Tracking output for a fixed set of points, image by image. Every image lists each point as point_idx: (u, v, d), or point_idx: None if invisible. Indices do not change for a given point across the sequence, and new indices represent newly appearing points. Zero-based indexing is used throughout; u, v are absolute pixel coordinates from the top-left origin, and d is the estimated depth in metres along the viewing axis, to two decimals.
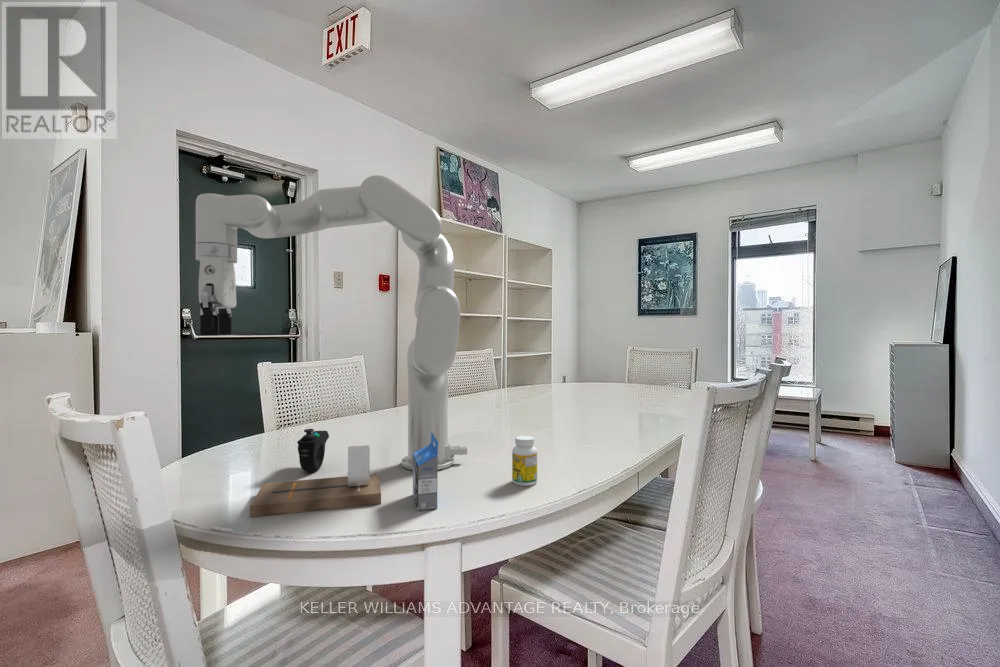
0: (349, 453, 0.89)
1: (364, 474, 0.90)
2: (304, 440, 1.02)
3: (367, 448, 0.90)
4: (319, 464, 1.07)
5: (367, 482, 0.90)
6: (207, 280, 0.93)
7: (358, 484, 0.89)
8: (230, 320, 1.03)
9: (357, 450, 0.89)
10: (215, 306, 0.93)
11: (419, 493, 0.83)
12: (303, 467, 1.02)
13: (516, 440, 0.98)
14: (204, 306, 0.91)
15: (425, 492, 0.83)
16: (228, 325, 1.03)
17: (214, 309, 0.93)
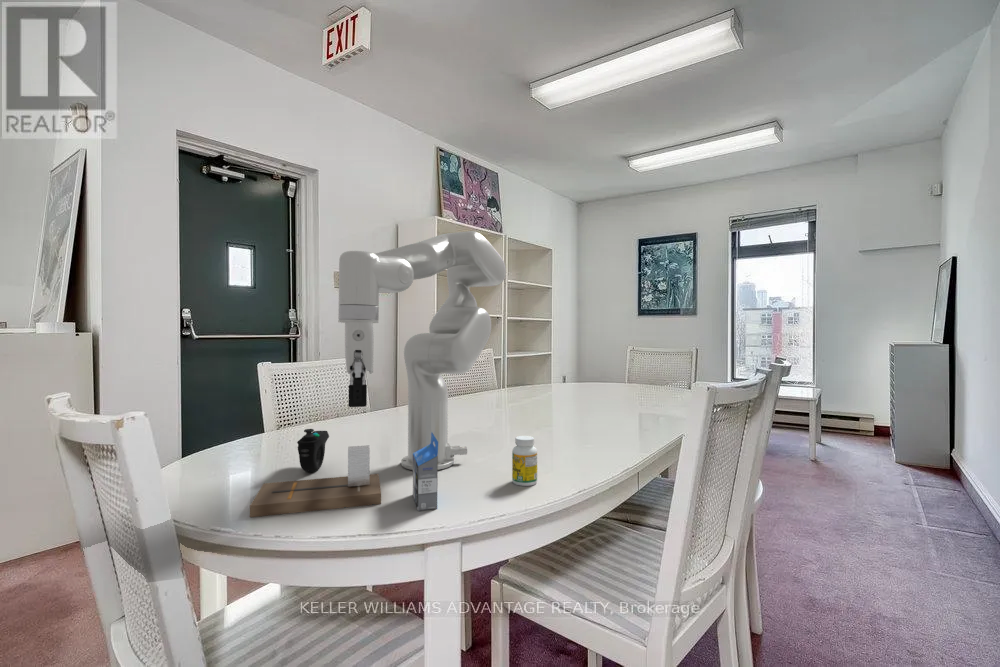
0: (349, 453, 0.89)
1: (364, 474, 0.90)
2: (304, 440, 1.02)
3: (367, 448, 0.90)
4: (319, 464, 1.07)
5: (367, 482, 0.90)
6: (355, 347, 0.85)
7: (358, 484, 0.89)
8: (365, 384, 0.95)
9: (357, 450, 0.89)
10: (364, 375, 0.85)
11: (419, 493, 0.83)
12: (303, 467, 1.02)
13: (516, 440, 0.98)
14: (356, 377, 0.83)
15: (425, 492, 0.83)
16: None
17: (364, 378, 0.85)
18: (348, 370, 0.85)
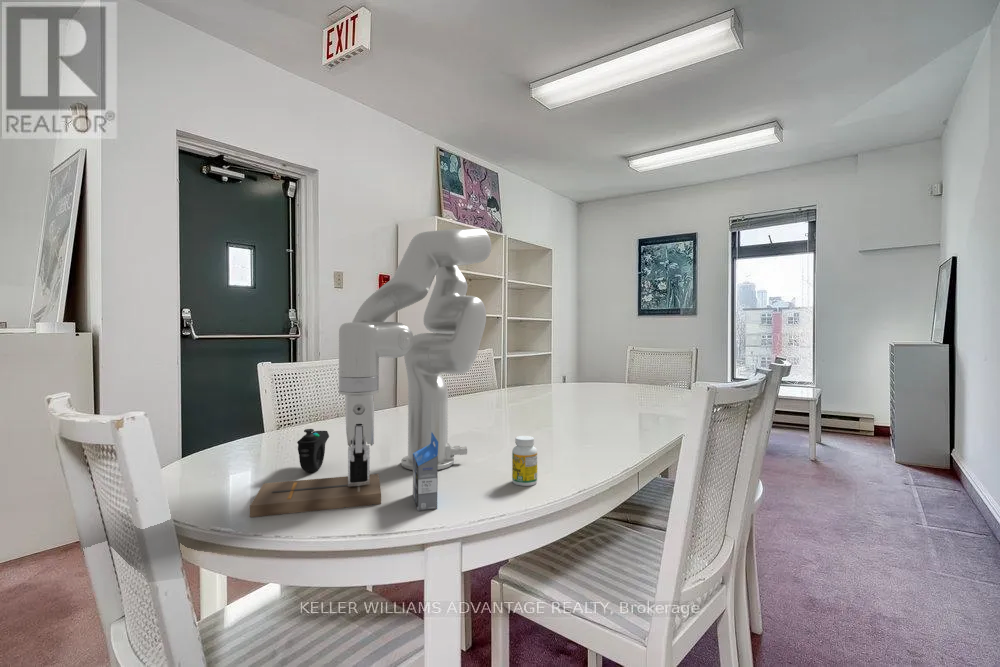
0: (349, 453, 0.89)
1: None
2: (304, 440, 1.02)
3: (367, 448, 0.90)
4: (319, 464, 1.07)
5: (367, 482, 0.90)
6: (356, 421, 0.86)
7: (358, 484, 0.89)
8: None
9: None
10: (364, 452, 0.88)
11: (419, 493, 0.83)
12: (303, 467, 1.02)
13: (516, 440, 0.98)
14: (357, 456, 0.87)
15: (425, 492, 0.83)
16: None
17: (364, 457, 0.88)
18: (349, 444, 0.86)
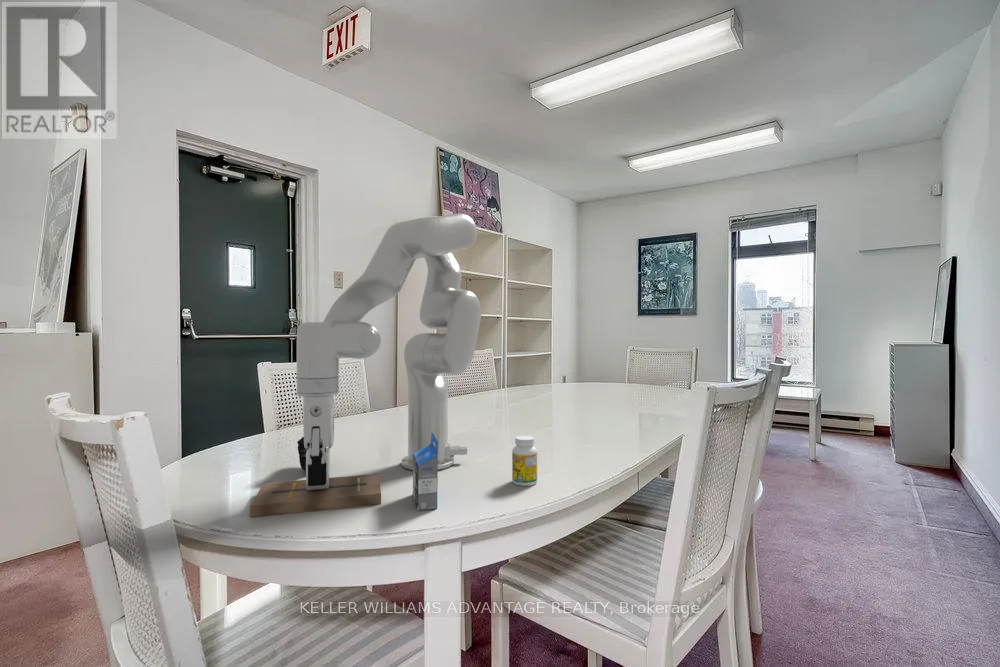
0: (307, 456, 0.86)
1: None
2: None
3: (326, 451, 0.88)
4: None
5: (326, 486, 0.87)
6: (313, 423, 0.83)
7: (317, 488, 0.87)
8: None
9: None
10: (323, 455, 0.86)
11: (419, 493, 0.83)
12: (303, 467, 1.02)
13: (516, 440, 0.98)
14: (314, 459, 0.84)
15: (425, 492, 0.83)
16: None
17: (322, 460, 0.86)
18: (305, 447, 0.83)
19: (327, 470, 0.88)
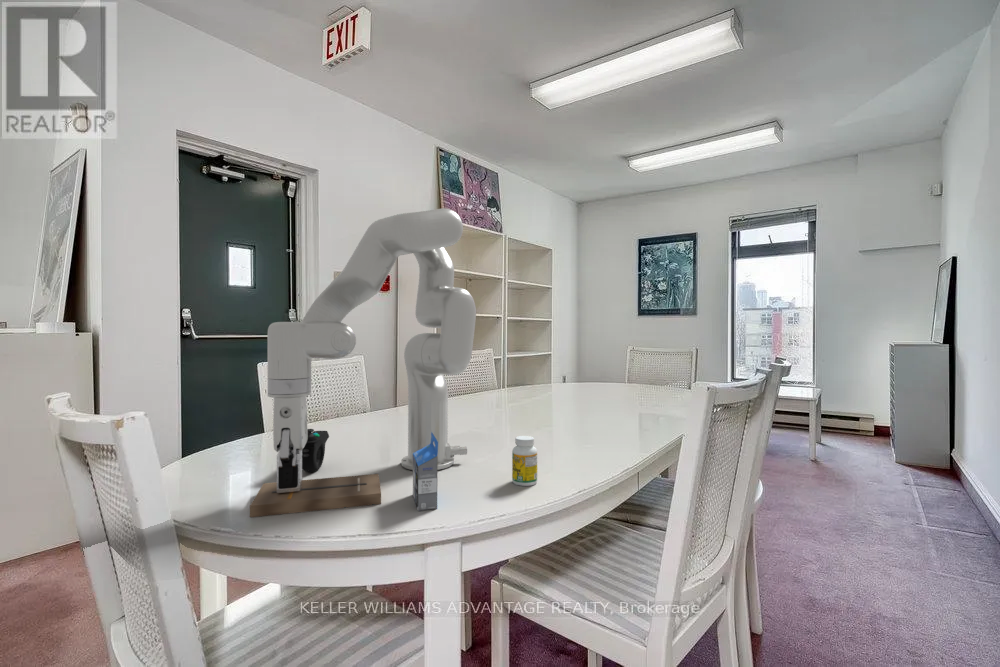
0: (278, 458, 0.85)
1: None
2: None
3: (298, 453, 0.87)
4: (319, 464, 1.07)
5: (298, 488, 0.86)
6: (283, 424, 0.82)
7: (288, 490, 0.86)
8: None
9: None
10: (293, 457, 0.84)
11: (419, 493, 0.83)
12: (303, 467, 1.02)
13: (516, 440, 0.98)
14: (284, 461, 0.83)
15: (425, 492, 0.83)
16: None
17: (293, 462, 0.84)
18: (275, 449, 0.82)
19: (298, 472, 0.86)
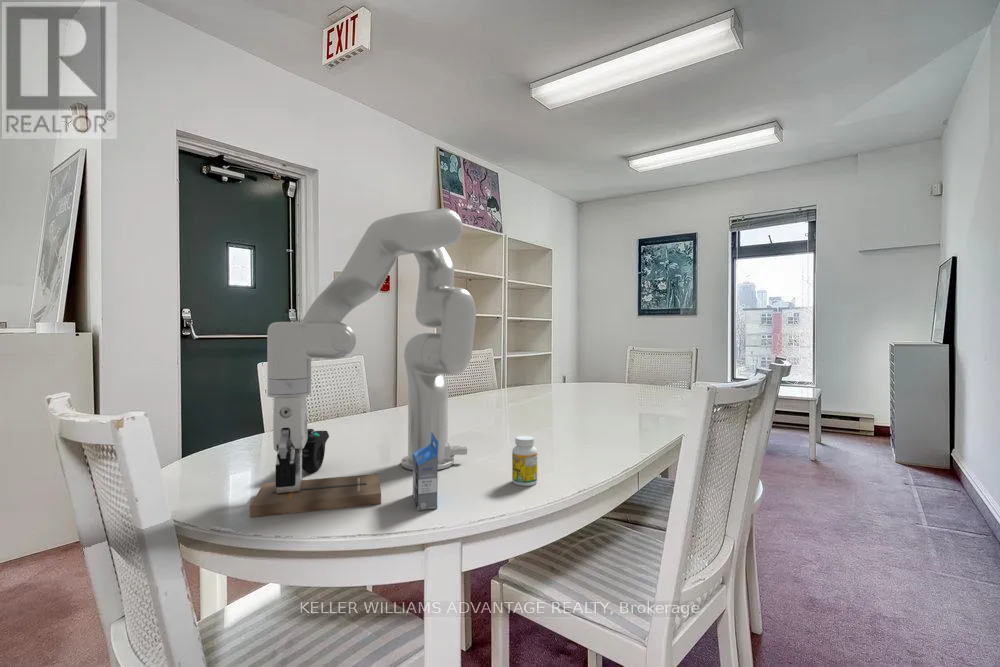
0: None
1: None
2: None
3: (298, 453, 0.87)
4: (319, 464, 1.07)
5: (297, 488, 0.86)
6: (283, 424, 0.82)
7: (288, 490, 0.86)
8: None
9: None
10: (292, 453, 0.82)
11: (419, 493, 0.83)
12: (303, 467, 1.02)
13: (516, 440, 0.98)
14: (282, 458, 0.80)
15: (425, 492, 0.83)
16: None
17: (291, 458, 0.82)
18: (275, 449, 0.82)
19: (298, 472, 0.86)
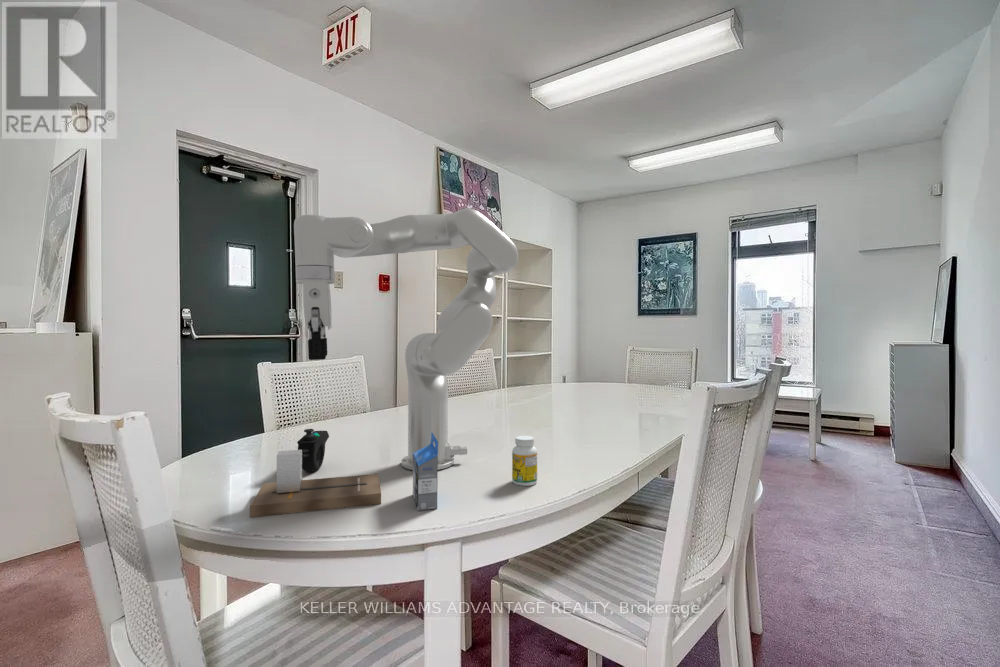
0: (278, 458, 0.85)
1: (294, 479, 0.86)
2: (304, 440, 1.02)
3: (298, 453, 0.87)
4: (319, 464, 1.07)
5: (297, 488, 0.86)
6: (312, 304, 0.92)
7: (288, 490, 0.86)
8: (326, 341, 1.02)
9: (287, 455, 0.85)
10: (322, 330, 0.92)
11: (419, 493, 0.83)
12: (303, 467, 1.02)
13: (516, 440, 0.98)
14: (314, 331, 0.90)
15: (425, 492, 0.83)
16: (324, 346, 1.01)
17: (321, 333, 0.92)
18: (307, 326, 0.92)
19: (298, 472, 0.86)
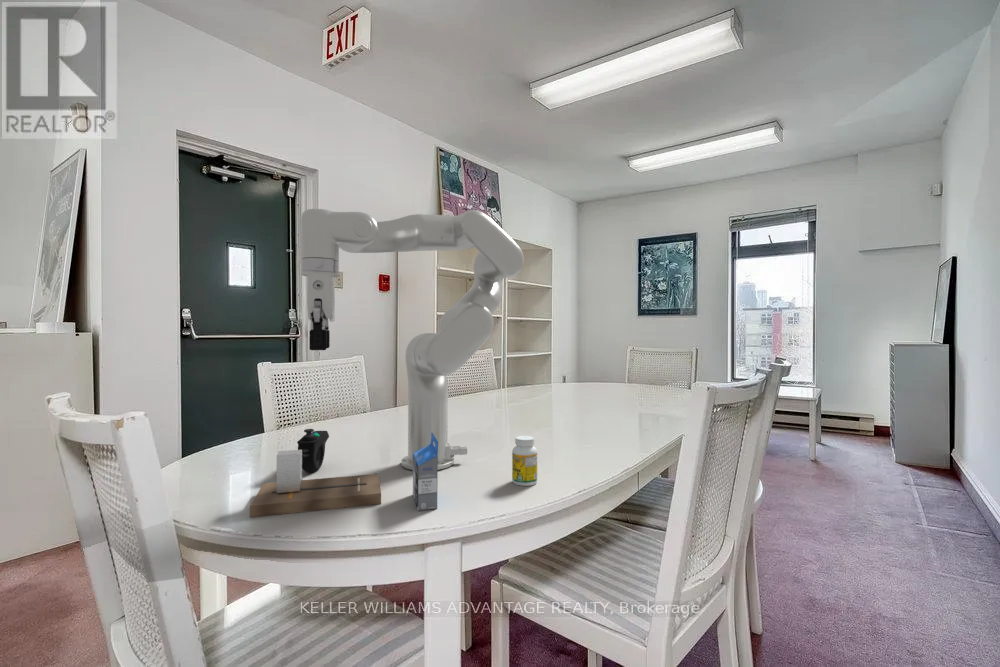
0: (278, 458, 0.85)
1: (294, 479, 0.86)
2: (304, 440, 1.02)
3: (298, 453, 0.87)
4: (319, 464, 1.07)
5: (297, 488, 0.86)
6: (315, 295, 0.94)
7: (288, 490, 0.86)
8: (328, 334, 1.03)
9: (287, 455, 0.85)
10: (323, 321, 0.94)
11: (419, 493, 0.83)
12: (303, 467, 1.02)
13: (516, 440, 0.98)
14: (315, 321, 0.91)
15: (425, 492, 0.83)
16: (326, 339, 1.03)
17: (323, 324, 0.93)
18: (309, 317, 0.94)
19: (298, 472, 0.86)
